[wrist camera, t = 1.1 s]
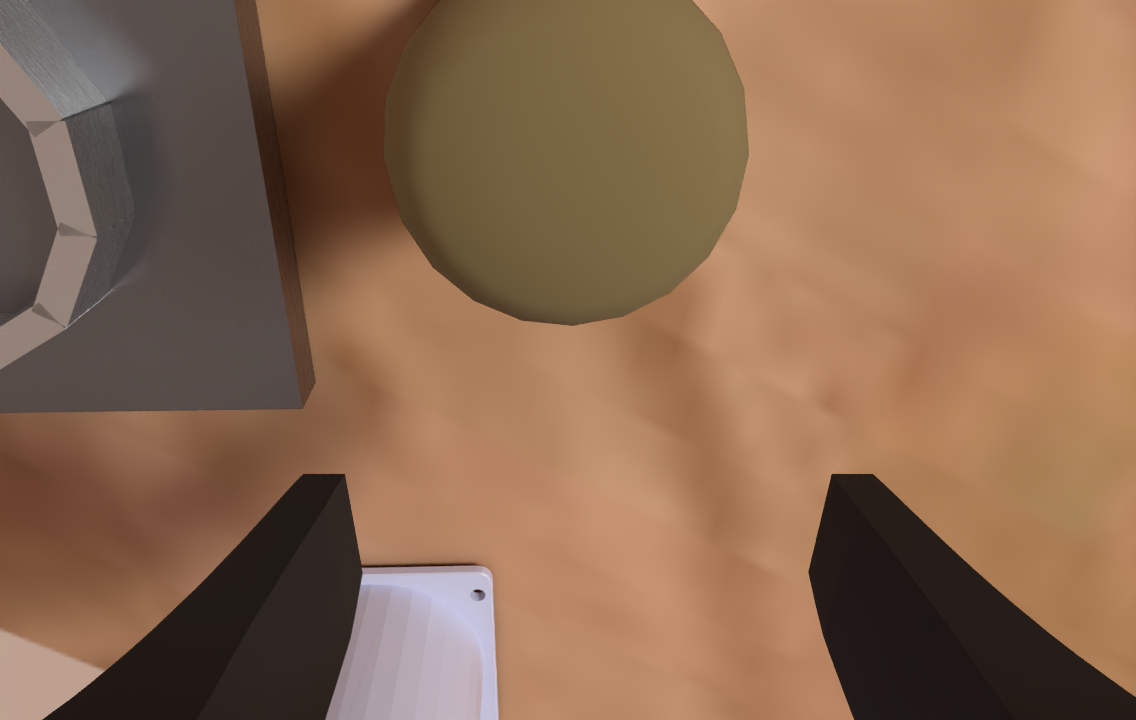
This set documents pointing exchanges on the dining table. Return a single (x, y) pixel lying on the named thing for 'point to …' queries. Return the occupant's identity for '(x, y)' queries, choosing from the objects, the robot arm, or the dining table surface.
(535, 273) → the cork
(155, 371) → the plate
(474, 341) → the dining table surface
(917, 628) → the robot arm
